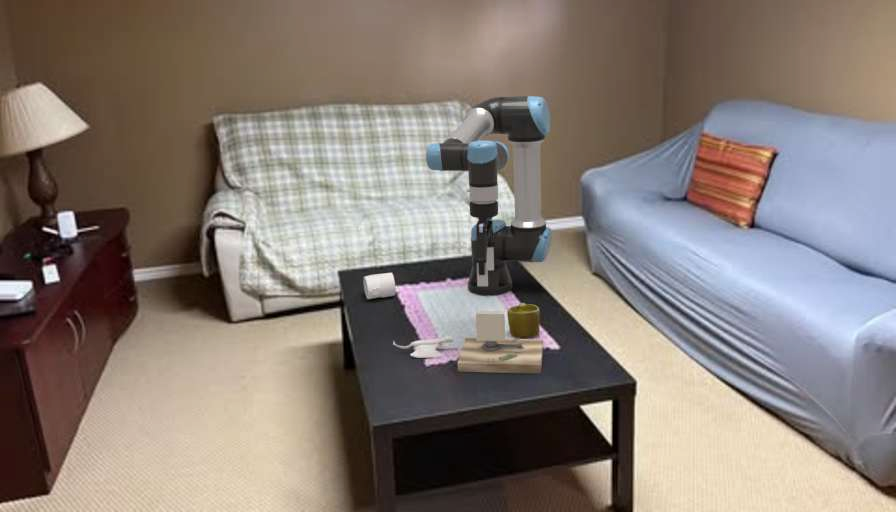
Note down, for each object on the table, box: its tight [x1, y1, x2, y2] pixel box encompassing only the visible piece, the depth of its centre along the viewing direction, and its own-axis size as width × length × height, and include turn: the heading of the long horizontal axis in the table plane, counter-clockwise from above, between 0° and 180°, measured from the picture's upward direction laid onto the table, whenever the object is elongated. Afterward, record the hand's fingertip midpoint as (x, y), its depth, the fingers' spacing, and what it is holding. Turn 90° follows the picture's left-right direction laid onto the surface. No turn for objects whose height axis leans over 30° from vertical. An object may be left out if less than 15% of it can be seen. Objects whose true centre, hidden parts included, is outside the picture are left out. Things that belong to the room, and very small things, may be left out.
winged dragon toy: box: [392, 336, 454, 359], centre depth 218 cm, size 18×10×4 cm, turn 94°
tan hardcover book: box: [457, 337, 544, 375], centre depth 211 cm, size 16×22×3 cm
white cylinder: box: [363, 272, 396, 300], centre depth 261 cm, size 12×9×8 cm
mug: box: [506, 302, 541, 339], centre depth 226 cm, size 12×10×10 cm
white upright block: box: [475, 310, 522, 351], centre depth 211 cm, size 5×12×10 cm, turn 81°
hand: (485, 277), depth 208 cm, fingers open, 13 cm apart
